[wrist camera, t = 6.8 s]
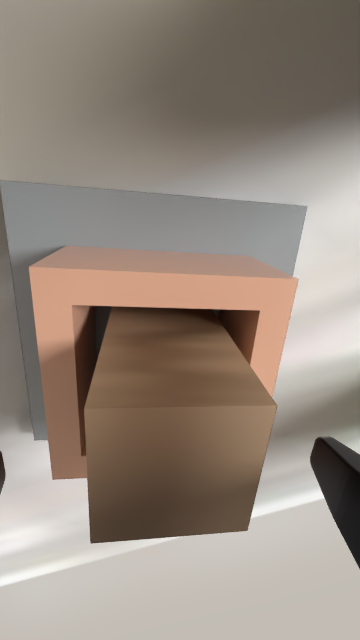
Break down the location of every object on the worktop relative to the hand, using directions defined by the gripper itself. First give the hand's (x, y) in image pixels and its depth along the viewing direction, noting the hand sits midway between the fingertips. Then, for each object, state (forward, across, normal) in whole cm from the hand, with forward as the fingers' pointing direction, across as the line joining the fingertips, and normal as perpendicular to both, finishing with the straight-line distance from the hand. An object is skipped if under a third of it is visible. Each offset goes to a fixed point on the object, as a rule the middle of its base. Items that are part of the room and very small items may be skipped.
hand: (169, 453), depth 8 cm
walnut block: (+8, 0, 0) cm, 8 cm away
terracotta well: (+9, 0, 0) cm, 9 cm away
